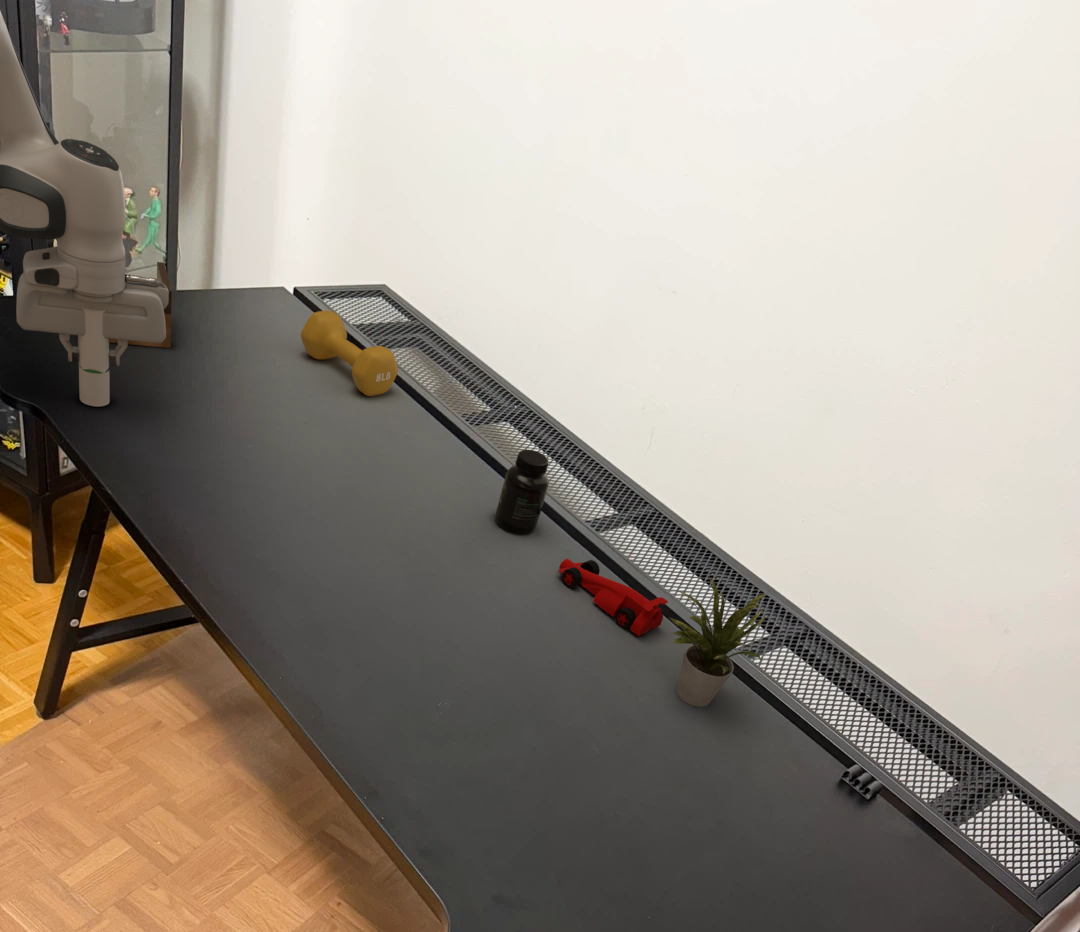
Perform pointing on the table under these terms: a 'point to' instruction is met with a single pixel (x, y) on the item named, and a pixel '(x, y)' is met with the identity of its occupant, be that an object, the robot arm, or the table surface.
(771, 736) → the table surface
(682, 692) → the house plant
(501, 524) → the supplement bottle
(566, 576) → the toy car
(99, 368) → the tube
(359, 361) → the dumbbell
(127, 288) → the robot arm
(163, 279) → the wooden stand base
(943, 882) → the table surface
